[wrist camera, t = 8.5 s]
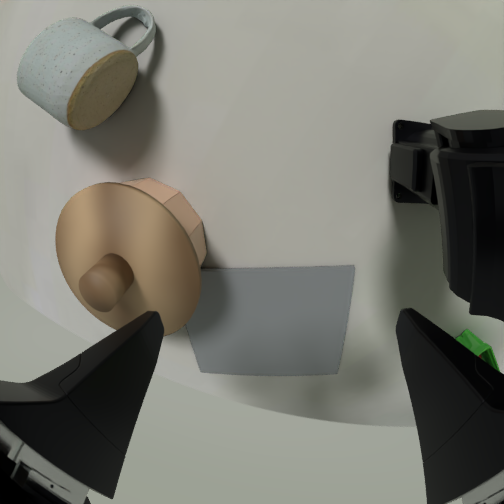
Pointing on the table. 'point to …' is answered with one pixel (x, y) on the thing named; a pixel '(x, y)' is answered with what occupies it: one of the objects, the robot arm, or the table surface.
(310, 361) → the mat
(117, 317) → the lid
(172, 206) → the bowl
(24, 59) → the ceramic mug
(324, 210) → the table surface
